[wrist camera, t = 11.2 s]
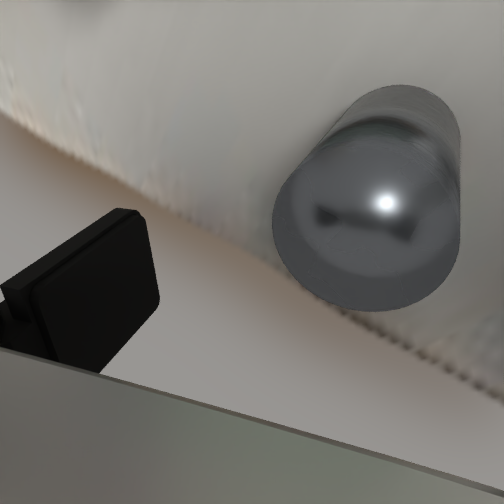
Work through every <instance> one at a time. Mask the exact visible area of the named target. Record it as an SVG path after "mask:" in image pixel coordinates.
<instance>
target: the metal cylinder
mask: <svg viewBox="0 0 504 504" xmlns="http://www.w3.org/2000/svg"><path fill="white" fill-rule="evenodd" d="M272 229H273V237H274V241H275V245H276V248H277V250H278V253H279V255H280V257H281V259H282V261H283V263H284V264H285V266H286V267H287V269H288V270H289V272H290V273H291V274H292V275H293V276H294V278H295V279H296V280H297V281H298V282H299V283H300V284H302V285H303V286H304V287H305V288H306V289H308V290H309V291H310V292H312V293H313V294H315V295H316V296H318V297H320V298H321V299H323V300H325V301H328V302H330V303H332V304H335V305H337V306H340V307H344V308H348V309H352V310H358V311H368V312H379V311H389V310H395V309H399V308H402V307H406V306H409V305H411V304H413V303H416V302H418V301H420V300H421V299H423V298H425V297H426V296H428V295H429V294H431V293H432V292H433V291H434V290H436V289H437V288H438V287H439V286H440V285H441V284H442V282H443V281H444V280H445V279H446V277H447V276H448V274H449V273H450V271H451V269H452V267H453V265H454V263H455V261H456V258H457V255H458V251H459V244H460V132H459V127H458V124H457V121H456V119H455V117H454V115H453V113H452V111H451V110H450V109H449V107H448V106H447V105H446V104H445V103H444V102H443V101H442V100H441V99H440V98H438V97H437V96H436V95H434V94H433V93H431V92H429V91H427V90H424V89H422V88H419V87H415V86H410V85H391V86H386V87H382V88H379V89H376V90H373V91H371V92H369V93H367V94H366V95H364V96H362V97H361V98H360V99H358V100H357V101H356V102H355V103H354V104H353V105H352V106H351V107H350V108H349V109H348V110H347V111H346V112H345V113H344V115H343V116H342V117H341V118H340V119H339V120H338V122H337V123H336V124H335V125H334V126H333V127H332V128H331V130H330V131H329V132H328V133H327V134H326V135H325V136H324V138H323V139H322V140H321V141H320V142H319V143H318V145H317V146H316V147H315V148H314V149H313V150H312V151H311V153H310V154H309V155H308V156H307V157H306V158H305V159H304V161H303V162H302V163H301V164H300V165H299V166H298V167H297V169H296V170H295V171H294V172H293V173H292V174H291V176H290V177H289V178H288V179H287V181H286V182H285V183H284V185H283V186H282V188H281V190H280V192H279V194H278V196H277V199H276V202H275V205H274V210H273V216H272Z"/></svg>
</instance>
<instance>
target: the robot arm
mask: <svg viewBox="0 0 504 504" xmlns="http://www.w3.org/2000/svg"><path fill="white" fill-rule="evenodd" d="M0 288H1V290H2V293H3V295H4V298H5V300H4V301H2V302H1V303H0V504H504V491H502V490H499V489H497V488H494V487H491V486H487V485H484V484H481V483H478V482H474V481H471V480H468V479H465V478H462V477H458V476H455V475H452V474H448V473H445V472H442V471H438V470H434V469H431V468H428V467H425V466H421V465H417V464H415V463H411V462H408V461H405V460H401V459H398V458H395V457H391V456H388V455H385V454H381V453H377V452H374V451H370V450H367V449H364V448H360V447H356V446H353V445H350V444H346V443H343V442H339V441H336V440H332V439H329V438H325V437H322V436H318V435H315V434H311V433H308V432H304V431H301V430H297V429H294V428H290V427H287V426H284V425H280V424H277V423H273V422H270V421H266V420H263V419H259V418H256V417H252V416H248V415H245V414H241V413H238V412H234V411H231V410H227V409H224V408H220V407H217V406H213V405H209V404H206V403H202V402H198V401H195V400H192V399H188V398H185V397H181V396H177V395H174V394H170V393H167V392H163V391H159V390H156V389H152V388H149V387H145V386H142V385H138V384H134V383H131V382H127V381H124V380H120V379H117V378H113V377H109V376H106V375H102V374H99V373H100V372H101V371H102V369H103V368H104V367H105V366H106V365H107V364H108V363H109V362H110V361H111V359H112V358H113V357H114V356H115V355H116V354H117V353H118V352H119V350H120V349H121V348H122V347H123V346H124V345H125V344H126V343H127V342H128V340H129V339H130V338H131V337H132V336H133V335H134V334H135V333H136V331H137V330H138V329H139V328H140V327H141V326H142V325H143V324H144V322H145V321H146V320H147V319H148V318H149V317H150V316H151V315H152V314H153V313H154V311H155V310H156V309H157V307H158V305H159V302H160V301H159V300H160V295H159V290H158V285H157V280H156V274H155V268H154V263H153V258H152V252H151V247H150V242H149V237H148V231H147V226H146V221H145V219H144V217H142V216H141V215H140V213H139V212H138V211H137V210H131V209H123V208H115V209H113V210H112V211H110V212H109V213H107V214H106V215H105V216H103V217H101V218H100V219H98V220H97V221H95V222H94V223H92V224H91V225H90V226H88V227H86V228H85V229H83V230H82V231H80V232H79V233H77V234H76V235H74V236H73V237H71V238H70V239H69V240H67V241H66V242H64V243H63V244H61V245H60V246H58V247H56V248H55V249H54V250H52V251H50V252H49V253H48V254H46V255H45V256H43V257H41V258H40V259H38V260H37V261H36V262H34V263H33V264H31V265H30V266H28V267H27V268H25V269H24V270H22V271H21V272H19V273H18V274H16V275H15V276H13V277H12V278H10V279H9V280H7V281H6V282H4V283H3V284H1V285H0Z"/></svg>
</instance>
